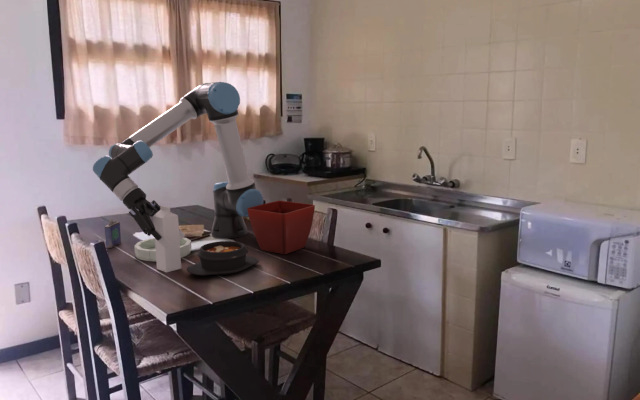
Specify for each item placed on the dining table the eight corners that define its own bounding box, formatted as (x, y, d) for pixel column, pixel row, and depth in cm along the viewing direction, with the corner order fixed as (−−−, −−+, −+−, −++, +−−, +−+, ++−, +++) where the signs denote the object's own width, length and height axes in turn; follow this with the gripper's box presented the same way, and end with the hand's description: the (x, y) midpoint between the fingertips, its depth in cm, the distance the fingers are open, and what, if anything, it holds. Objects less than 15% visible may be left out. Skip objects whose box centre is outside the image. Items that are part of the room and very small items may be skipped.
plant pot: (247, 250, 203) (245, 207, 200) (280, 239, 218) (279, 199, 215) (284, 258, 192) (283, 213, 188) (316, 247, 206) (316, 205, 203)
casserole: (201, 285, 165) (200, 259, 164) (178, 270, 180) (176, 247, 178) (269, 269, 180) (268, 245, 179) (242, 257, 195) (241, 235, 193)
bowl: (194, 245, 210) (194, 235, 210) (185, 260, 191) (185, 249, 190) (143, 247, 209) (143, 237, 208) (129, 262, 189) (128, 251, 189)
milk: (166, 272, 178) (161, 209, 173) (156, 269, 182) (151, 206, 177) (181, 268, 182) (177, 206, 178) (172, 264, 186) (167, 203, 182)
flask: (110, 248, 207) (108, 222, 205) (103, 248, 208) (101, 222, 206) (122, 242, 216) (120, 217, 214) (116, 242, 217) (113, 216, 215)
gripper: (141, 196, 191) (184, 240, 191) (104, 208, 170) (151, 258, 170) (154, 182, 189) (197, 226, 189) (117, 192, 168) (165, 243, 167)
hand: (175, 241), depth 179 cm, fingers open, 9 cm apart
